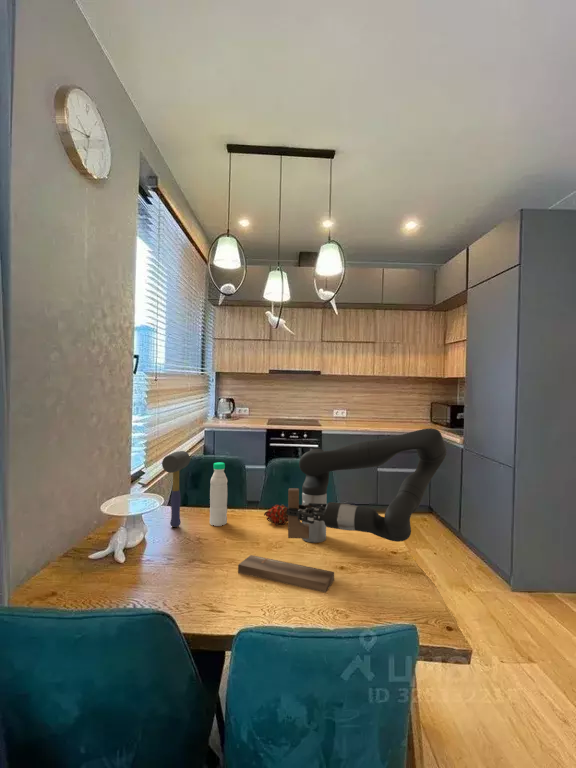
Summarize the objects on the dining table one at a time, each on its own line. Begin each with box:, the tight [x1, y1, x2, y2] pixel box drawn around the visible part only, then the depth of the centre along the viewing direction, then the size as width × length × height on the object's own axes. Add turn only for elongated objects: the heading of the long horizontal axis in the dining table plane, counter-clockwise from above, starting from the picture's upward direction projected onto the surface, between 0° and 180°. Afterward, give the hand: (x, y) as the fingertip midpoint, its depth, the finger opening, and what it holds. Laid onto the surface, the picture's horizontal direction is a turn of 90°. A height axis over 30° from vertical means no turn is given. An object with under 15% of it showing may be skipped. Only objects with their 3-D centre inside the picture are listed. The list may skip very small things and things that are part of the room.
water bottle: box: [209, 461, 228, 527], centre depth 170 cm, size 7×7×25 cm
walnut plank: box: [237, 554, 335, 593], centre depth 124 cm, size 8×28×3 cm, turn 66°
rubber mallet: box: [161, 450, 191, 528], centre depth 165 cm, size 12×8×30 cm, turn 170°
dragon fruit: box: [263, 503, 288, 526], centre depth 172 cm, size 8×8×12 cm
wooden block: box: [287, 487, 309, 540], centre depth 132 cm, size 7×3×15 cm, turn 86°
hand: (290, 509), depth 132 cm, fingers closed on wooden block, 4 cm apart
